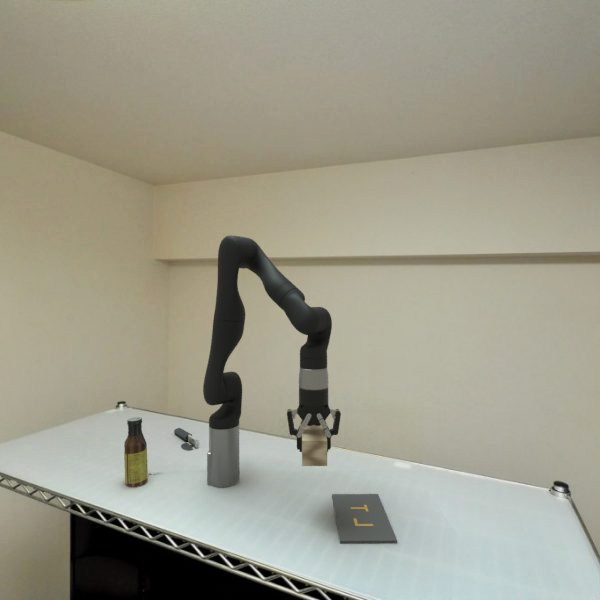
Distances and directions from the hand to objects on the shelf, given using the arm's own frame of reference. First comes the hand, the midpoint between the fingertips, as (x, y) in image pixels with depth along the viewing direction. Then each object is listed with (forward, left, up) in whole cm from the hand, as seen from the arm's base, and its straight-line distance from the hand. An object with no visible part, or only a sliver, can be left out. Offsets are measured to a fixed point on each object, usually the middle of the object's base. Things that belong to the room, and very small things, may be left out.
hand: (313, 450), depth 92 cm
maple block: (0, 0, -1) cm, 1 cm away
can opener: (-47, +46, -17) cm, 69 cm away
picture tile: (+12, 0, -17) cm, 21 cm away
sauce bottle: (-53, +17, -17) cm, 58 cm away
